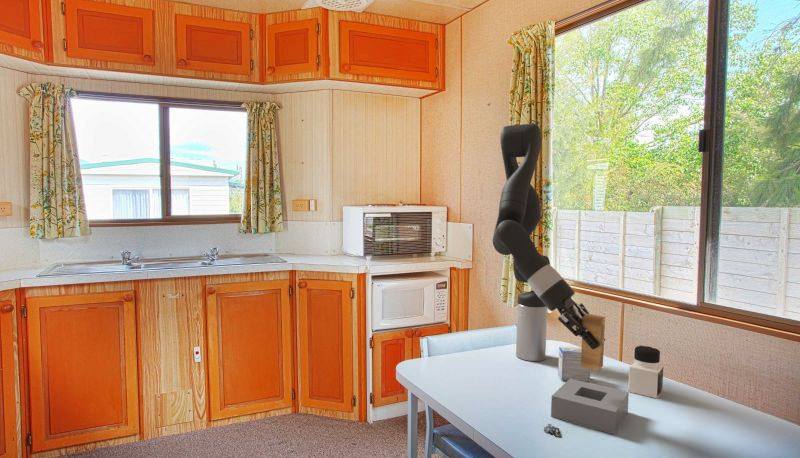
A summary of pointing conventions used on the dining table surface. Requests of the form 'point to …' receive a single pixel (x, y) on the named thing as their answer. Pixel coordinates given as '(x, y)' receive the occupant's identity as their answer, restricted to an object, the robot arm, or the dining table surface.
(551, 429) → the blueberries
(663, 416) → the dining table surface
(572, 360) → the medicine box
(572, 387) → the socket block
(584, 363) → the wooden peg
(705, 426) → the dining table surface
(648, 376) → the medicine bottle
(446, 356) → the dining table surface
